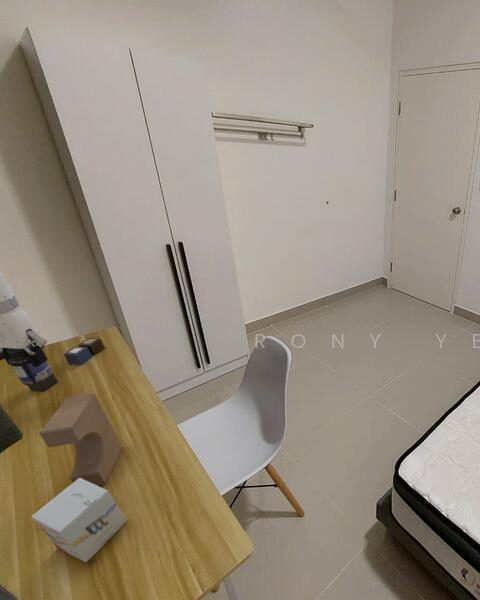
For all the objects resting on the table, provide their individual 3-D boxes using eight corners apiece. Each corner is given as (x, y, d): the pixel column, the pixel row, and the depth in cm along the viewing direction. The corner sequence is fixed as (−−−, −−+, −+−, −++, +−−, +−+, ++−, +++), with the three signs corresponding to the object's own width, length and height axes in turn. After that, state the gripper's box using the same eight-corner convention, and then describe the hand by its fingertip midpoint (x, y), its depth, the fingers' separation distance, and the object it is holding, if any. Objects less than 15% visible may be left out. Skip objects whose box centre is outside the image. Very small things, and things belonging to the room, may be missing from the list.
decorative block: (104, 485, 78) (69, 428, 69) (75, 491, 77) (35, 433, 67) (124, 447, 88) (96, 391, 78) (99, 451, 86) (66, 395, 77)
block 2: (81, 365, 115) (75, 354, 113) (68, 364, 115) (63, 353, 113) (92, 357, 119) (87, 346, 117) (80, 356, 119) (75, 346, 117)
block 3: (94, 355, 120) (89, 345, 117) (82, 354, 120) (77, 344, 117) (105, 348, 124) (100, 338, 121) (93, 347, 124) (88, 337, 121)
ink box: (55, 548, 67) (27, 515, 61) (100, 508, 74) (79, 475, 68) (85, 564, 65) (59, 532, 59) (128, 521, 72) (109, 488, 66)
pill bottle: (54, 368, 96) (37, 338, 91) (52, 380, 92) (35, 349, 87) (23, 376, 92) (4, 345, 87) (20, 389, 88) (0, 357, 83)
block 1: (44, 391, 103) (37, 380, 101) (30, 390, 103) (23, 379, 101) (58, 381, 107) (51, 371, 105) (44, 380, 107) (38, 370, 105)
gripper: (-59, 310, 78) (-19, 368, 86) (13, 316, 78) (46, 374, 86) (-22, 295, 84) (12, 351, 93) (45, 301, 84) (72, 356, 93)
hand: (28, 362), depth 89 cm, fingers closed on pill bottle, 6 cm apart
